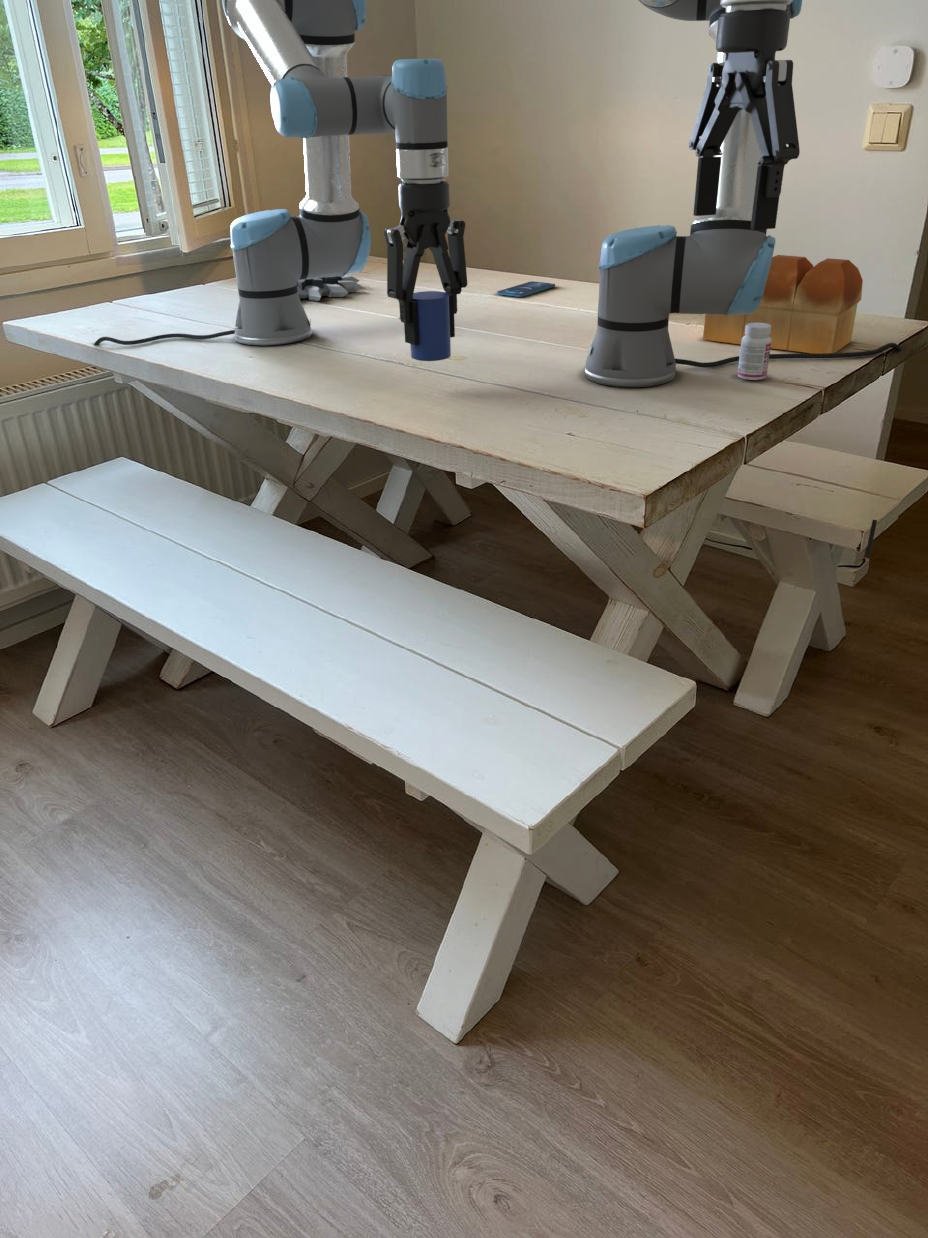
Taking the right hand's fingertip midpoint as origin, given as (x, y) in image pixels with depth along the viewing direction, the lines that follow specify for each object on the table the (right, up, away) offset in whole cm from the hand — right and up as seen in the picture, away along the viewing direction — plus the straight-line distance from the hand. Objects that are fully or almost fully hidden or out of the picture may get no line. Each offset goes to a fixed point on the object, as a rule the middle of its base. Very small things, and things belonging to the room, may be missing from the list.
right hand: (732, 221), depth 112 cm
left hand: (-37, -3, +38) cm, 53 cm away
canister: (-37, -5, +39) cm, 54 cm away
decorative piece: (-71, +33, +119) cm, 142 cm away
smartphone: (-17, +31, +113) cm, 119 cm away
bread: (+27, +5, +65) cm, 71 cm away
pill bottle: (+16, -7, +45) cm, 48 cm away
